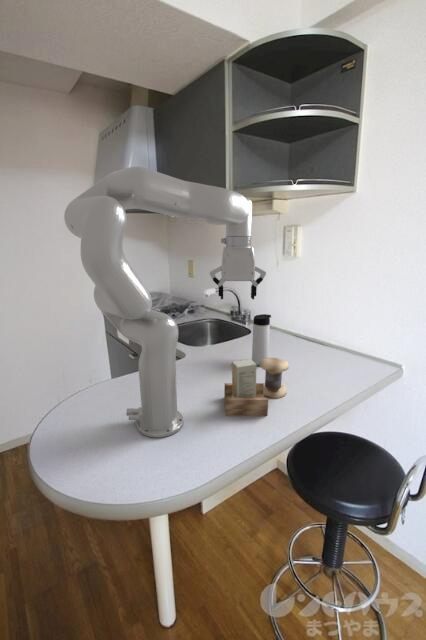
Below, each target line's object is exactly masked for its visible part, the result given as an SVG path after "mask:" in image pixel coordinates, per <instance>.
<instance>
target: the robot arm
mask: <svg viewBox="0 0 426 640" xmlns="http://www.w3.org/2000/svg"><path fill="white" fill-rule="evenodd" d="M134 209H137V210H142V211H143V210H144V211H148V212H152V213H158V214H163V215H166V216H170V217H174V218H182V219H202V220H203V221H204V222H205V223H207V224H209V225H212V226H213V225H214V226H215V225H216V226H223V225H225V237H224V238H221V239H220V243H221V244H224V245H225V246H224V247H223V249H222V255H221V265H220V266H218V267H216V268H215V269H212V270H210V271H209V276H210V277H211V279H212V281H213V282H214V283H215V285H217V287H218V297H220V300H224V284H225V282H250V283H251V285H250V298H251V300H255V297H257V288H258V286H259V284H261V282H263V280H264V278H265V276H266V275H267V271H265V270H263V269H262V268H260V267H257V266H256V258H255V257H256V256H255V249H254V247H253V246H252V225H253V223H252V222H253V219H252V218H253V202H252V200H251V199H250V198H247V197H245V196H244V195H243V194H242V193H240V192H237V191H234V190H230V189H228V188H224V187H219V186H215V185H208V184H203V183H198V182H192V181H186V180H183V179H180V178H177V177H174V176H171V175H168V174H165V173H162V172H159V171H156V170H153V169H150V168H146V167H143V166H131V167H130V166H129V167H125V168H122V169H118V170H115V171H112V172H111V173H109V174H107V175H106V176H105V177H103V178H101V179H100V180H99V181H98V182H96V183H95V184H94V185H92V186H91V187H90V188H89V187H88V189H86V190H85V191H83V192H82V193H81V194H79V195H78V196H76V197H75V198H74V199H72V200H71V201H70V202H69V203H68V205H66V208H65V209H64V213H63V214H64V217H63V219H64V224H65V225H66V226H65V227H66V228H67V230H68V231H70V233H71V234H72V235H74V236H75V237H78V238H79V239H80V259H81V260H80V261H81V263H82V267H83V269H84V271H85V272H86V274H87V275H88V277H89V278H90V279H91V282H93V284H94V285H95V286H94V289H93V299H94V302H95V305H96V307H97V308H98V309H99V310H100V312H101V313H102V315H104V316H105V318H106V319H107V320H108V321H109V322H110V324H111V325H113V326H114V328H115V329H116V330H117V331H118V332H119V333H120V334H121V335H122V336H123V337H124V338H126V339H127V340H129V341H131V342H133V343H136V344H138V345H139V346H140V347H141V352H140V356H139V359H138V377H139V378H138V379H139V391H140V407H138V408H128V407H127V408H126V411H125V412H126V416H128V420H129V421H130V420H131V421H134V420H136V429H137V431H138V432H139V433H140V434H142V435H143V436H145V437H149V438H165V437H168V436H172V435H174V434H175V433H177V432H178V431H180V430H181V428H182V427H183V425H184V416H183V414H182V413H181V412H180V411H178V392H177V368H176V367H177V366H176V365H177V364H176V362H177V361H176V358H177V357H176V356H177V347H178V345H177V344H178V341H179V327H178V324H177V322H176V321H175V319H174V318H172V317H171V316H170V315H168V314H166V313H165V312H161V311H158V310H154V309H152V308H153V300H152V299H153V298H152V296H151V293H150V291H149V290H148V288H147V286H146V285H145V284H144V283H143V281H142V280H141V278H140V277H139V276H138V274H137V273H136V271H134V269H133V267H132V266H131V265H130V262H129V261H128V260H127V258H126V255H125V254H124V250H123V249H124V247H123V246H124V245H123V242H124V237H125V232H126V229H127V223H128V221H127V220H128V217H127V213H126V210H134ZM219 272H220V275H221V278H220V280H219V279H218V278H217V276H216V274H217V273H219ZM256 273H258V274H259V276H258V277H257V278H256Z"/></svg>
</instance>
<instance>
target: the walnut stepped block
mask: <svg viewBox="0 0 426 640" xmlns="http://www.w3.org/2000/svg"><path fill="white" fill-rule="evenodd" d="M263 383H264V382H263ZM263 383H257V382H256V398H232V382H231V383H229V382H227V383H224V413H225V416H229V417H230V416H232V417H233V416H234V417H235V416H236V417H237V416H238V417H239V416H241V417H242V416H246V417H247V416H255V417H256V416H268V411H269V410H268V409H269V398H268V397H265V396H264V395H263V387H264V385H263Z"/></svg>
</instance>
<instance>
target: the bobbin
mask: <svg viewBox="0 0 426 640" xmlns="http://www.w3.org/2000/svg"><path fill="white" fill-rule="evenodd" d="M289 366H290V365H289V362H288V361H287V360H285V359H283V358H280V357H279V358H278V357H268V358H265V359H262V360H261V361H260V368H261V369H262V370H264V371H265V376H264V380H265V381H264V382H263V385H264V387H263V395H264V398H268V399H281V398H283V397H284V398H285V396H287V393H288V392H287V391H288V389H287V387H286V386H285V385H284V384H282V379H283V372H286V371H287V370H289Z"/></svg>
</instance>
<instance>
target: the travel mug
mask: <svg viewBox="0 0 426 640" xmlns="http://www.w3.org/2000/svg"><path fill="white" fill-rule="evenodd" d="M270 318H272V314H264V313H263V314H256V315H255V316H254V317H253V323H252V324H253V325H252V343H251V344H252V346H251V350H252V351H251V360H252V361H254V362H255V363H256V367H260V361H261V360H262V359H265V358H269V347H270V346H269V345H270V325H271V323H270V322H271V320H270ZM260 368H261V367H260Z"/></svg>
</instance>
